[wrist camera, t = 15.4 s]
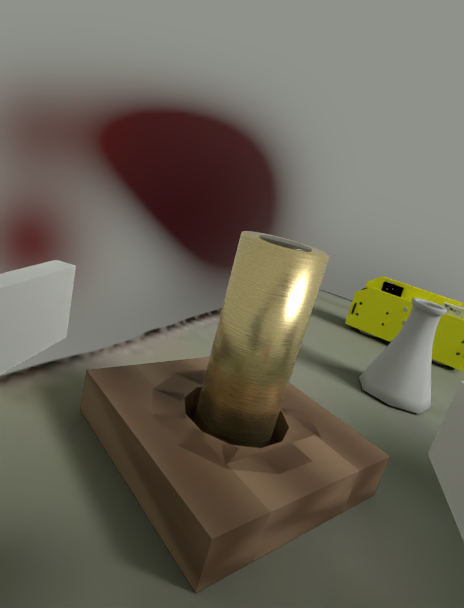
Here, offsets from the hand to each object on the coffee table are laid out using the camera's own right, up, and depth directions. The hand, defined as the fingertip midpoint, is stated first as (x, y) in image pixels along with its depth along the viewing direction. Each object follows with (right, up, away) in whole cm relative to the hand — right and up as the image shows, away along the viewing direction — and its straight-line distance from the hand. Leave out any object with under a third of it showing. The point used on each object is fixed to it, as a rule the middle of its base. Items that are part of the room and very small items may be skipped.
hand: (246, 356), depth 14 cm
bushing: (-1, -8, +13) cm, 16 cm away
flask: (+16, -8, +29) cm, 34 cm away
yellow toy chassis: (+23, -5, +46) cm, 52 cm away
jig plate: (-1, -8, +13) cm, 16 cm away
